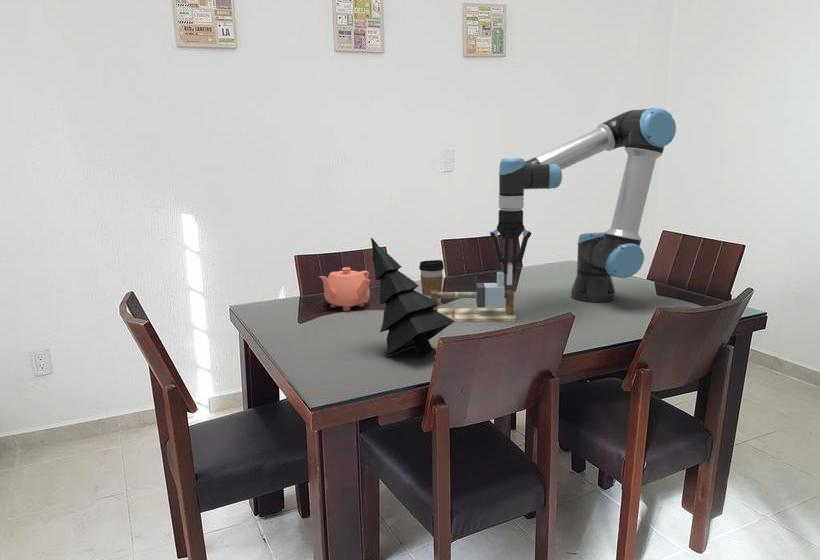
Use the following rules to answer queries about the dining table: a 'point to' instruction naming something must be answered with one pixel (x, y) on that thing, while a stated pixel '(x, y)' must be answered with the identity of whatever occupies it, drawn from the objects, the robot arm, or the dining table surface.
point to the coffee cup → (431, 277)
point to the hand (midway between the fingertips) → (509, 283)
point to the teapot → (347, 288)
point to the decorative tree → (405, 308)
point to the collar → (480, 294)
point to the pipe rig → (476, 313)
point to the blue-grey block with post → (495, 292)
